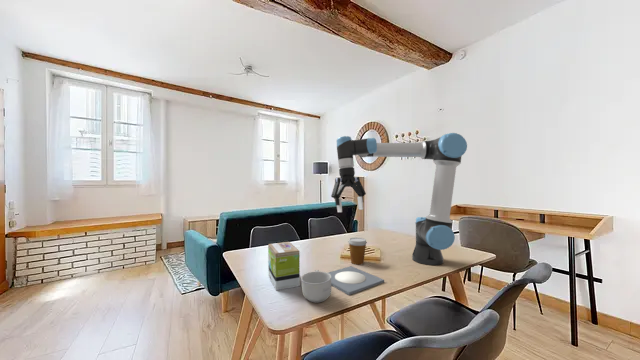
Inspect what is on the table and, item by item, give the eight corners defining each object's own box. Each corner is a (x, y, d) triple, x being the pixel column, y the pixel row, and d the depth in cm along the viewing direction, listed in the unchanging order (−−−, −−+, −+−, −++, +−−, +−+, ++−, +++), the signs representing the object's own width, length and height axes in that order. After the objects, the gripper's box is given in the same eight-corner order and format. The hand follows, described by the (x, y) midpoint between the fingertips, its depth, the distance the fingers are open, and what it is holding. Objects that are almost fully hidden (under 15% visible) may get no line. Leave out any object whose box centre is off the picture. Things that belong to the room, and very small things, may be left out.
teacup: (328, 307, 81) (328, 283, 81) (297, 304, 83) (297, 280, 83) (334, 289, 94) (334, 268, 94) (307, 287, 96) (307, 266, 96)
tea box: (267, 276, 107) (267, 243, 107) (289, 273, 110) (289, 241, 111) (275, 291, 93) (275, 252, 93) (300, 286, 97) (300, 249, 97)
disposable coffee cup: (368, 266, 121) (368, 241, 121) (349, 265, 121) (349, 241, 121) (365, 259, 130) (365, 237, 130) (347, 259, 130) (347, 237, 130)
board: (351, 268, 117) (351, 265, 117) (384, 282, 101) (384, 279, 101) (317, 277, 106) (317, 274, 106) (348, 295, 90) (348, 291, 90)
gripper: (359, 169, 131) (364, 208, 129) (321, 169, 117) (325, 213, 115) (369, 166, 125) (374, 208, 123) (330, 166, 111) (335, 213, 109)
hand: (350, 210), depth 119 cm, fingers open, 13 cm apart
